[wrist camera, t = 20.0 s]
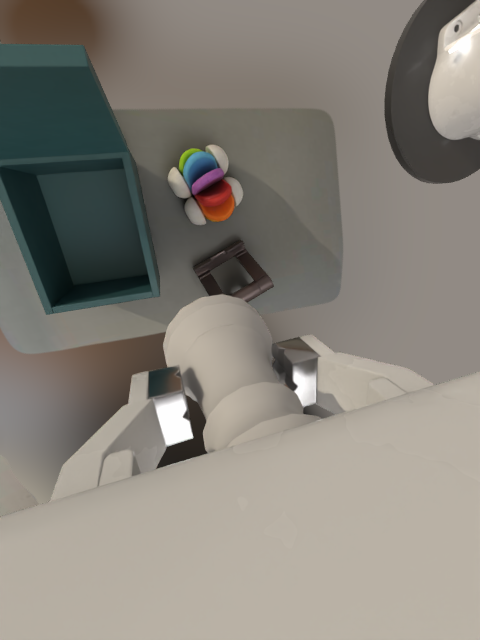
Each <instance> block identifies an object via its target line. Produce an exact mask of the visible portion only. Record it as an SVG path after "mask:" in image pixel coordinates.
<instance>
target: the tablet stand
mask: <svg viewBox="0 0 480 640" xmlns="http://www.w3.org/2000/svg"><path fill="white" fill-rule="evenodd" d="M243 244H244V243H243V241H242V240H239V241H238V242H236V243H234V244H232V245H231V246H229V247H227V248H226V249H224V250H222V251H221V252H219V253H217V254H215V255H214V256H212V257H210V258H209V259H207V260H205V261H204V262H202V263H200V264H199V265H197V266H195V267H193V269H194V271H195V272H196V274H197V276H198V277H199V279H200V281H201V282H202V284H203V286H204V288H205V289H206V291H207V293H208V294H209V296H214V295H221V294H223V292H222V290H221V289H220V287H219V286H218V284H217V283H216V281H215V280H214V278H213V276H212V275H211V273H210V270H212V269H214V268H215V267H217V266H219V265H221V264H222V263H224V262H226V261H227V260H229V259H231V258H232V257H234V256H235V257H236V258H237V259H238V260H239V262H240V263H241V264H242V265H243V267H244V268H245V269H246V270H247V272H248V273H249V274H250V275H251V277H252V278H253V280H254V281H253V282H252V283H250V284H248V285H247V286H245V287H243V288H242V289H240V290H238V291H237V292H235V293H233V294H231V295H230V296H232V297H236V298H240V299H243V300H244V301H245V302H249V301H250V300H252V299H254V298H255V297H257V296H259V295H260V294H262V293H264V292H265V291H267V290H269V289H270V288H272V287H274V285H273V283H272V280H271V278H270V277H269V276H268V275H267V274H266V272H265V271H264V270H263V269H262V268H261V267H260V266H259V264H258V263H257V262H256V261H255V260H254V259H253V258H252V256H251V255H250V254H249V253H248V252H247V250H246V249H245V247H244V245H243Z"/></svg>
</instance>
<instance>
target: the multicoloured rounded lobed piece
mask: <svg viewBox="0 0 480 640" xmlns="http://www.w3.org/2000/svg"><path fill="white" fill-rule="evenodd" d="M227 169H228V158H227V155H226V153H225V152H224V150H223V149H222V148H221V147H219V146H216V145H209V146H206V152H204V151H202V150H199V149H189V150H187V151H185V152H184V153H183V154H182V156H181V158H180V162H179V171H178V169H177V168H176V167H173V168H172V169H171V171H170V172H169V175H168V183H169V185H170V187H171V189H172V191H173V192H174V194H175V195H176V196H178V197H180V198H188V200H187V201H186V203H185V208H184V209H185V212H186V214H187V216H188V218H189V220H190V221H191V222H192V223H193V224H196V225H204V224H206V220H205V218H206V219H208V220H210V221H213V222H219V221H223V220H226V219H227V218H229V217H230V215H231V214H232V212H233V210H234V206H235V207H236V206H237V205H238V204H239V203H240V202H241V200H242V197H243V190H242V187H241V185H240V183H239V182H238V181H237V180H236V179H234V178H231V177H225V178H223V176H224V175H225V173H226V172H227ZM222 178H223V179H222ZM191 193H192V194H193V195H194V196H195V198H193V197H192V196H191Z"/></svg>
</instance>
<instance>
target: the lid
mask: <svg viewBox="0 0 480 640" xmlns="http://www.w3.org/2000/svg"><path fill="white" fill-rule="evenodd" d="M119 152H128V147H127V143H126V141H125V138H124V136H123V134H122V132H121V129H120V127H119V125H118V122H117V120H116V118H115V116H114V113H113V111H112V109H111V107H110V104H109V102H108V100H107V98H106V95H105V93H104V91H103V88H102V86H101V84H100V81H99V79H98V77H97V75H96V73H95V70H94V68H93V66H92V63H91V61H90V59H89V56H88V54H87V52H86V50H85V48H84V46H83V45H45V44H44V45H43V44H39V45H38V44H1V42H0V160H3V159H20V158H36V157H53V156H69V155H86V154H103V153H119Z"/></svg>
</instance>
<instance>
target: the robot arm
mask: <svg viewBox="0 0 480 640" xmlns="http://www.w3.org/2000/svg"><path fill="white" fill-rule="evenodd" d="M428 106H429V113H430V117H431V120H432V123H433V125H434V127H435V129H436V130H437V131H438V132H439V134H441V135H442V136H443V137H445V138H447V139H450V140H459V139H463V138H468V137H471V138H473V139H476V140H480V0H476V1H475V2H473V3H472V4H471V5H470V6H469V7H467V8H466V9H465V10H464V11H462V12H461V13H460V14H459V15H457V16H456V17H455V18H454V19H452V20H451V21H450V22H449V23H447V24H446V25H445V26H444V27H443V28H442V29H441V31H440V33H439V38H438V48H437V59H436V63H435V66H434V70H433V73H432V76H431V80H430V85H429V94H428ZM271 351H272V356H273V357H274V358H275V361H274V363H273V365H272V367H273V371H274V373H275V375H276V378H277V380H278V382H279V383H280V384H283V385H284V386H286V387H288V388H289V389H291V390H292V391H294V392H295V393H296V394H297V395H298V397H299V399H300V401H301V403H302V405H303V407H304V406H308V405H312V404H316V403H317V405H319V406H321V407H323V408H324V409H326V410H328V411H330V412H332V413H334V414H336V415H334V416H331V417H327V418H324V419H320V420H317V421H314V422H310V423H307V424H304V425H301V426H297V427H294V428H291V429H287V430H284V431H281V432H277V433H274V434H271V435H267V436H264V437H261V438H258V439H254V440H251V441H248V442H244V443H241V444H238V445H234V446H231V447H228V448H224V449H221V450H218V451H214V452H211V453H208V454H205V455H201V456H198V457H195V458H191V459H188V460H185V461H181V462H179V463H175V464H171V465H168V466H165V467H162V468H158V469H156V467H157V465H158V463H159V461H160V459H161V457H162V455H163V453H164V452H165V450H166V447H167V446H170V445H173V444H176V443H179V442H182V441H186V440H189V439H192V438H193V434H192V427H191V422H190V417H189V410H188V404H187V399H186V394H185V389H184V386H183V381H182V375H181V371H180V366H179V365H175V366H171V367H166V368H161V369H156V370H151V371H146V372H142V373H138V374H134V375H133V376H132V380H131V387H130V395H129V402H128V405H124V406H123V407H122V408H121V409H120V410H119V411H118V412H117V413H116V414H115V415H113V416H112V417H111V418H110V419H109V420H108V421H107V422H106V423H105V424H104V425H103V426H102V427H101V428H100V429H99V430H98V431H97V432H96V433H95V434H94V435H93V436H92V437H91V438H90V439H89V440H88V441H87V442H86V443H85V444H84V445H83V446H82V447H81V448H80V449H79V450H78V451H77V452H76V453H75V454H74V455H73V456H72V457H71V458H70V459H69V460H68V461H67V462H66V463H65V464H64V465H63V466H62V468H61V471H60V474H59V477H58V480H57V483H56V485H55V488H54V491H53V494H52V496H51V499H50V501H49V502H46V503H42V504H39V505H36V506H32V507H29V508H26V509H22V510H19V511H16V512H13V513H9V514H6V515H3V516H0V640H480V371H479V372H476V373H473V374H469V375H466V376H463V377H459V378H456V379H453V380H449V381H446V382H443V383H439V384H436V385H434V384H433V383H431V382H430V381H428V380H426V379H425V378H423V377H422V376H420V375H419V374H417V373H416V372H414V371H412V370H411V369H408V368H404V367H400V366H396V365H392V364H387V363H383V362H379V361H375V360H371V359H366V358H362V357H358V356H354V355H349V354H345V353H341V352H337V353H335V352H333V351H332V350H331V349H330V348H328V347H327V346H326V345H325V344H323V343H322V342H321V341H320V340H318V339H317V338H316V337H315V336H313V335H311V334H309V335H305V336H301V337H298V338H293V339H289V340H286V341H282V342H278V343H274V344H272V348H271Z"/></svg>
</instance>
